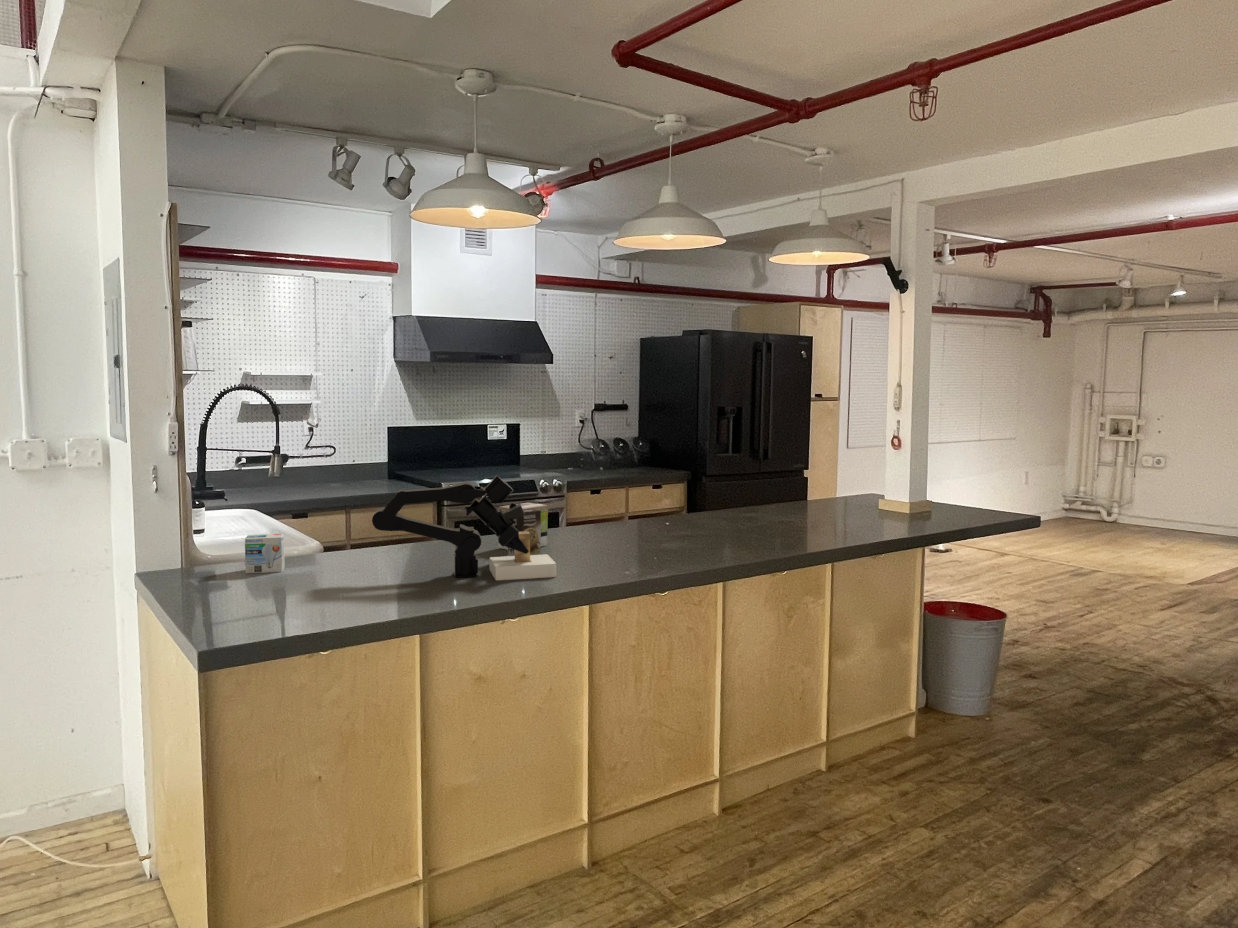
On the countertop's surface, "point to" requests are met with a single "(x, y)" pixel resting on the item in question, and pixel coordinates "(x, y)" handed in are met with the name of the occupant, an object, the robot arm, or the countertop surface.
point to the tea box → (543, 520)
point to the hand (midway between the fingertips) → (527, 550)
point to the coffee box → (530, 530)
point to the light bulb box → (264, 553)
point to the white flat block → (522, 567)
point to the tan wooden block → (526, 541)
